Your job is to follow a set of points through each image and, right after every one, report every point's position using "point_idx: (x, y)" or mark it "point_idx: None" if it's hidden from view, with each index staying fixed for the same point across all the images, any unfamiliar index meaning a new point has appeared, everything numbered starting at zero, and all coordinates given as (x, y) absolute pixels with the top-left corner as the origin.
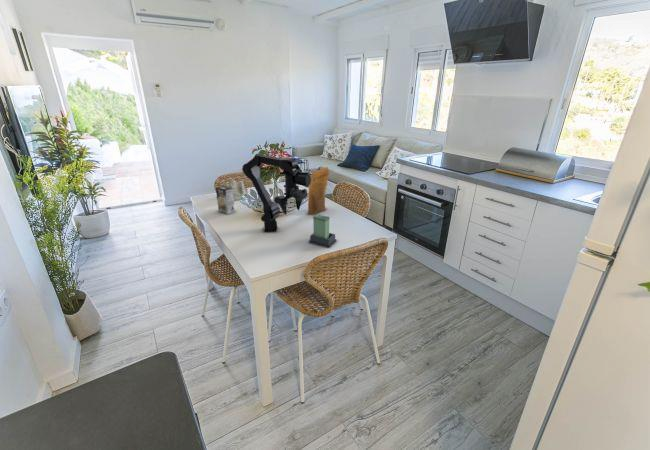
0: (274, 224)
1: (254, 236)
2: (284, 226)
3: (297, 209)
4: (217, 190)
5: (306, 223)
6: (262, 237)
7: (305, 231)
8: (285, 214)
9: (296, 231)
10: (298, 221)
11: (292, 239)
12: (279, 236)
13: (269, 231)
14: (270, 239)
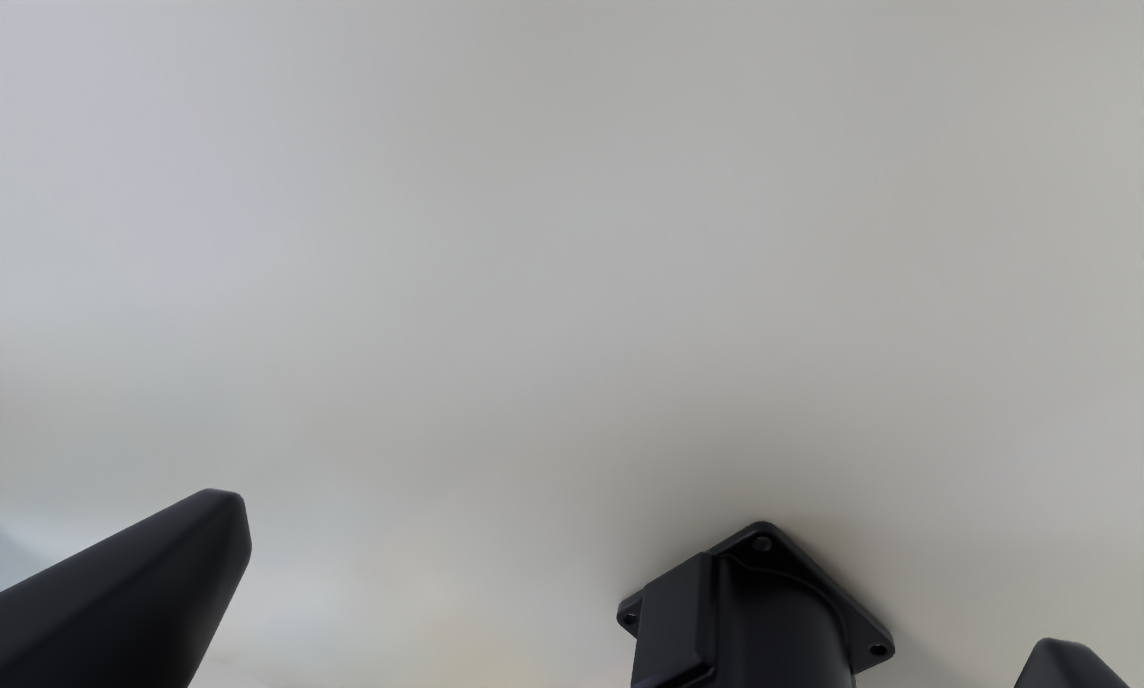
0: (742, 647)
1: (1133, 672)
2: (507, 520)
3: (244, 555)
4: None
5: (140, 303)
6: (1112, 562)
7: (390, 78)
8: (1082, 659)
9: (519, 233)
10: (202, 455)
11: (907, 33)
12: (914, 356)
13: (845, 594)
14: (1134, 410)
